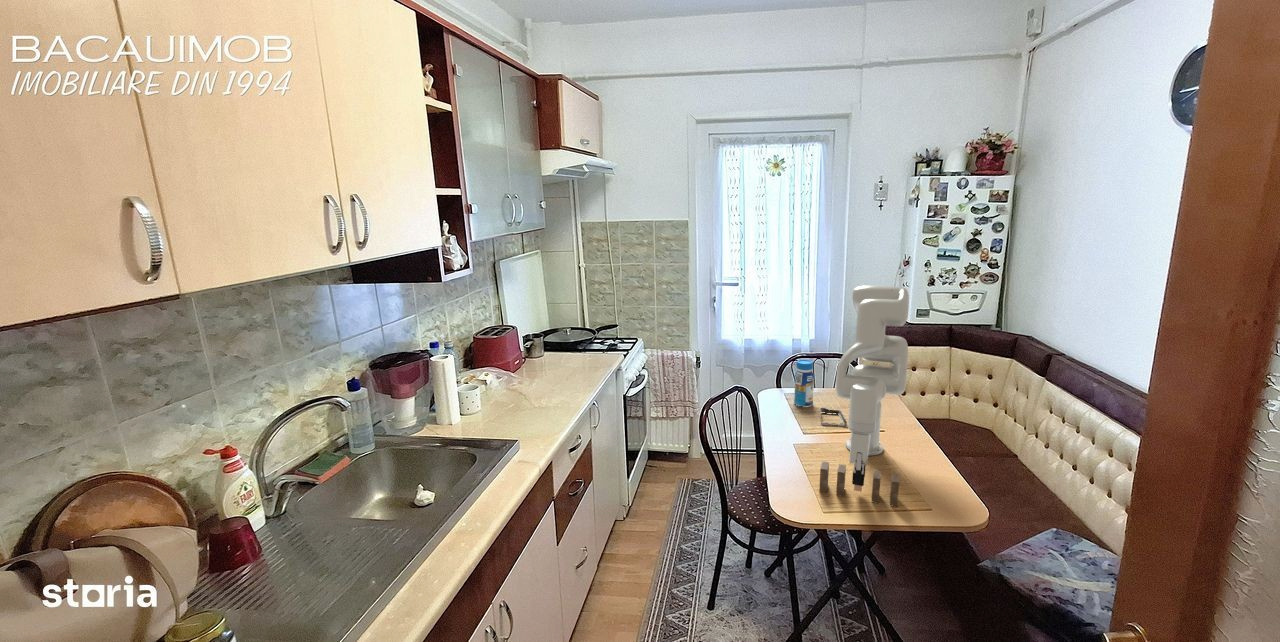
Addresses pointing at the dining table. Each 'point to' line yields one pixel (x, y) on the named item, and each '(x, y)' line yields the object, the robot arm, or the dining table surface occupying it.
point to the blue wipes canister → (804, 383)
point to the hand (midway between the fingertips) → (858, 479)
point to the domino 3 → (857, 487)
